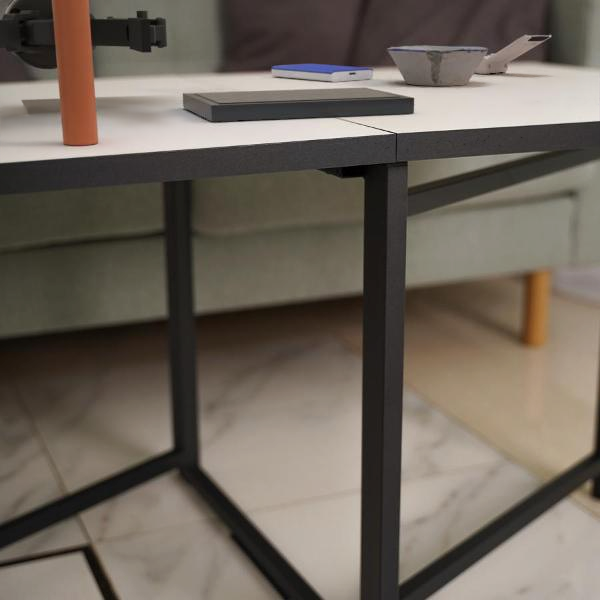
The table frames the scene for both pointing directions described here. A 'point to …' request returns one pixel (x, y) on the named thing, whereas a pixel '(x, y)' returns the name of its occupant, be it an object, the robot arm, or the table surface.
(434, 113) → the table surface
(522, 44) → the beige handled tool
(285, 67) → the hard drive
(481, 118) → the table surface
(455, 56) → the bowl
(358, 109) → the tablet
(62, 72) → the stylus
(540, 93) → the table surface
